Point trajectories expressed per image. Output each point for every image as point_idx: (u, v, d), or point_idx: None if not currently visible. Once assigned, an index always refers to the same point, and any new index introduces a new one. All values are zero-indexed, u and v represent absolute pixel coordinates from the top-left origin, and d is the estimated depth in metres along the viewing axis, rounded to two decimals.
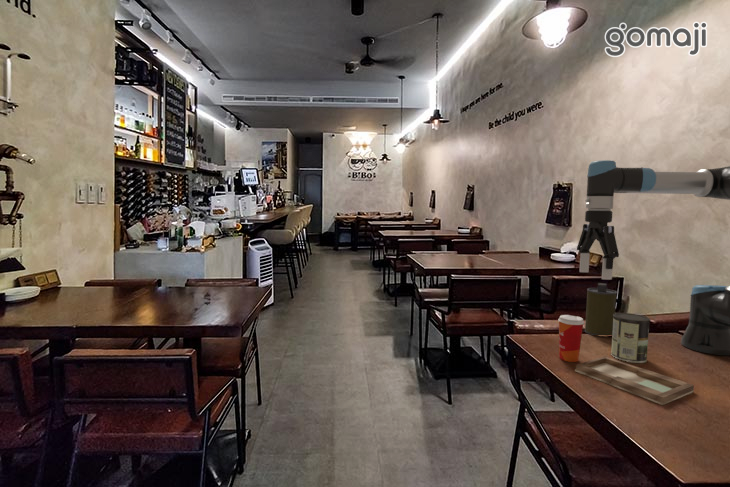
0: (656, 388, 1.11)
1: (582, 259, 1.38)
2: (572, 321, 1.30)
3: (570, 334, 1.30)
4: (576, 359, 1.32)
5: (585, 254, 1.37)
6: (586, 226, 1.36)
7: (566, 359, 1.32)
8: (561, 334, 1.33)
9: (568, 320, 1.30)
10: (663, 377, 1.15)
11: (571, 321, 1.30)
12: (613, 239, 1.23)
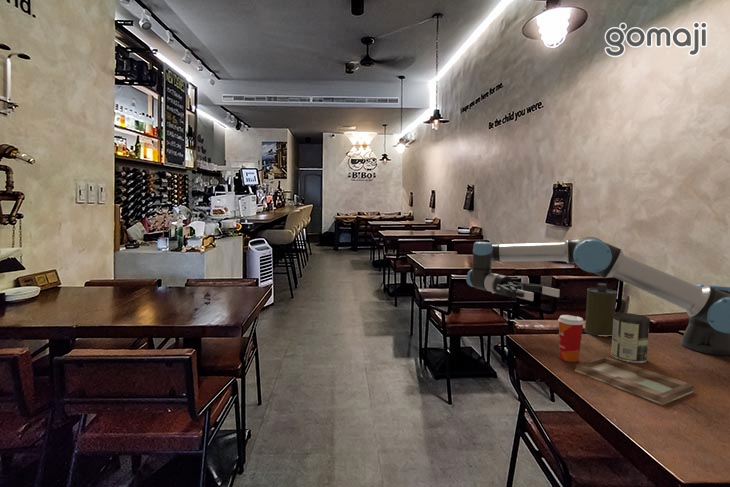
0: (656, 388, 1.11)
1: (547, 293, 1.48)
2: (572, 321, 1.30)
3: (570, 334, 1.30)
4: (576, 359, 1.32)
5: (543, 290, 1.49)
6: None
7: (566, 359, 1.32)
8: (561, 334, 1.33)
9: (568, 320, 1.30)
10: (663, 377, 1.15)
11: (571, 321, 1.30)
12: (502, 288, 1.48)
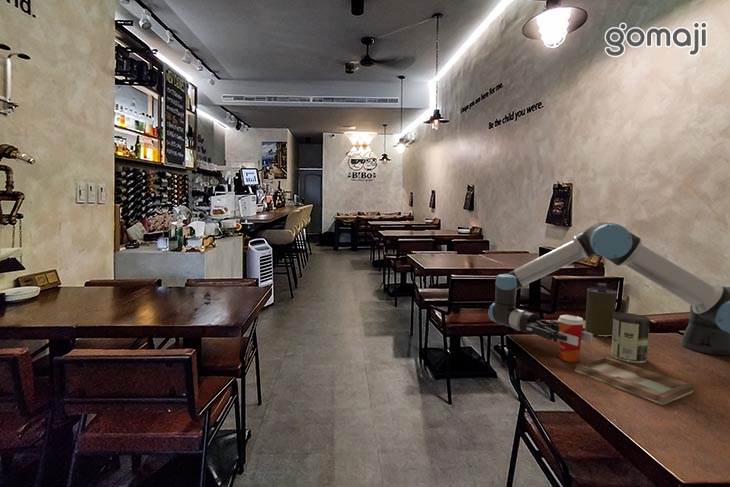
0: (656, 388, 1.11)
1: None
2: (572, 321, 1.30)
3: (570, 334, 1.30)
4: (576, 359, 1.32)
5: None
6: (550, 326, 1.46)
7: (566, 359, 1.32)
8: None
9: (568, 320, 1.30)
10: (663, 377, 1.15)
11: (571, 321, 1.30)
12: (537, 329, 1.37)
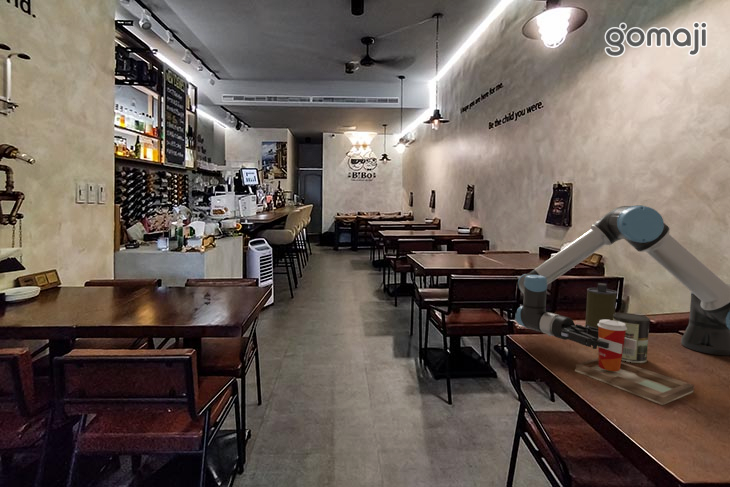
0: (656, 388, 1.11)
1: None
2: (614, 326, 1.19)
3: None
4: (618, 368, 1.20)
5: None
6: None
7: (607, 368, 1.21)
8: None
9: (610, 325, 1.19)
10: (663, 377, 1.15)
11: (613, 326, 1.19)
12: (573, 335, 1.26)
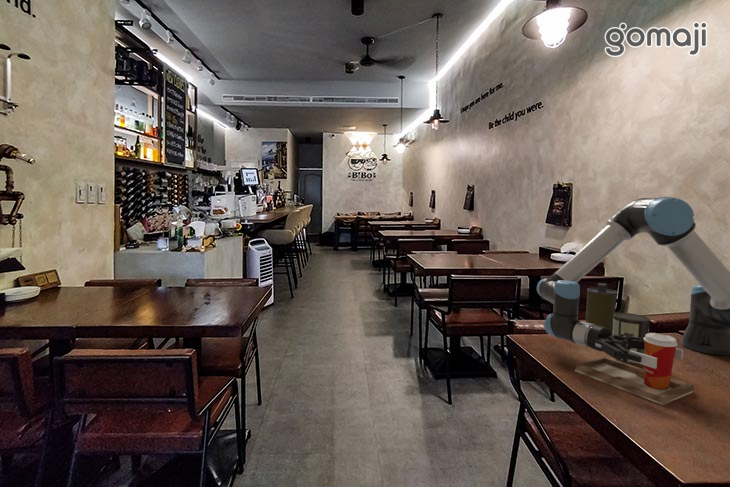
0: None
1: None
2: (664, 342, 1.09)
3: (661, 358, 1.09)
4: (667, 386, 1.11)
5: None
6: None
7: (655, 386, 1.11)
8: None
9: (659, 341, 1.09)
10: None
11: (663, 342, 1.09)
12: (606, 347, 1.16)
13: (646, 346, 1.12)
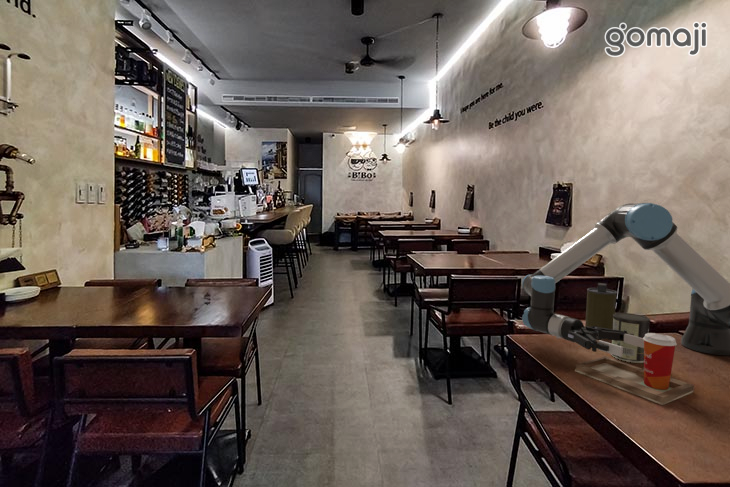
0: None
1: (630, 343, 1.23)
2: (663, 341, 1.09)
3: (661, 357, 1.10)
4: (667, 386, 1.11)
5: (625, 338, 1.25)
6: None
7: (655, 386, 1.11)
8: (648, 356, 1.12)
9: (658, 340, 1.10)
10: None
11: (662, 341, 1.09)
12: (577, 337, 1.23)
13: (646, 346, 1.13)
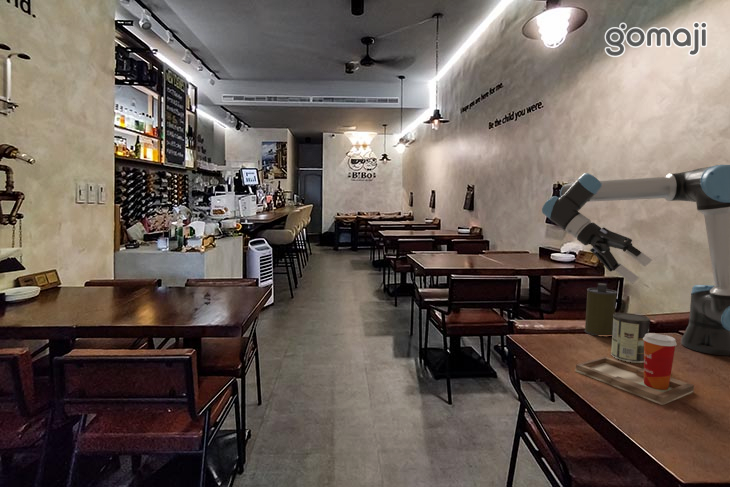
0: None
1: (621, 272, 1.34)
2: (663, 342, 1.09)
3: (661, 357, 1.10)
4: (667, 386, 1.11)
5: (619, 267, 1.35)
6: (593, 249, 1.39)
7: (655, 386, 1.11)
8: (648, 356, 1.12)
9: (658, 340, 1.10)
10: None
11: (662, 341, 1.09)
12: (614, 234, 1.26)
13: (645, 346, 1.13)
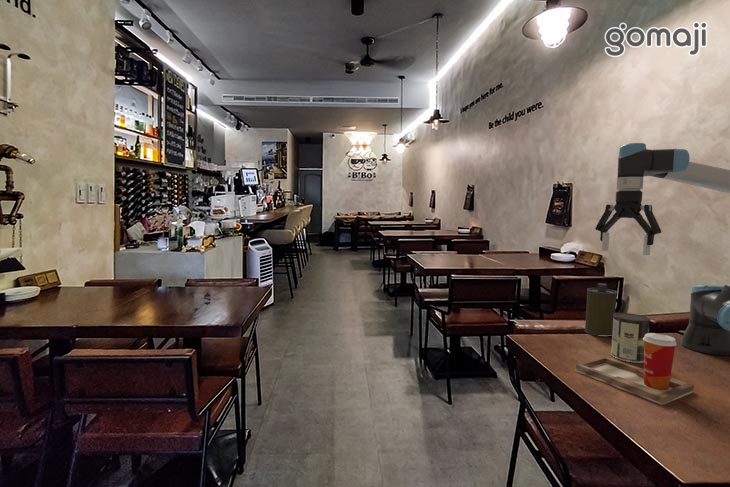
0: None
1: (605, 238, 1.44)
2: (663, 341, 1.09)
3: (661, 357, 1.10)
4: (667, 386, 1.11)
5: (607, 233, 1.44)
6: (610, 206, 1.42)
7: (655, 386, 1.11)
8: (648, 356, 1.12)
9: (658, 340, 1.10)
10: None
11: (662, 341, 1.09)
12: (653, 217, 1.31)
13: (646, 346, 1.13)
